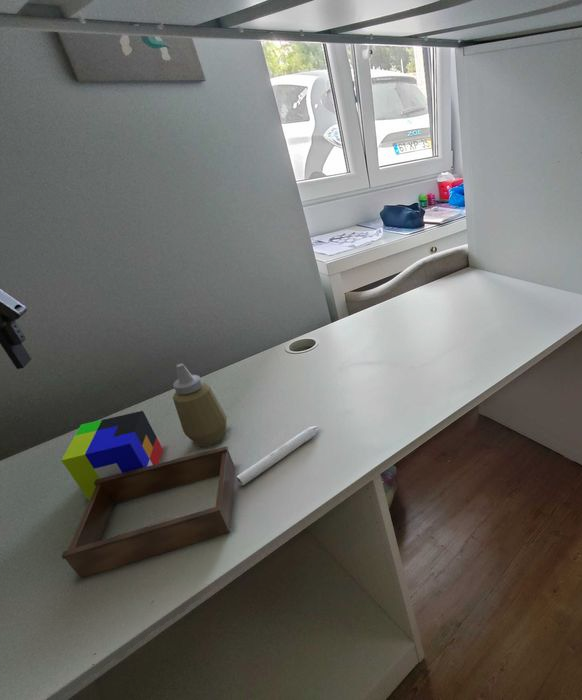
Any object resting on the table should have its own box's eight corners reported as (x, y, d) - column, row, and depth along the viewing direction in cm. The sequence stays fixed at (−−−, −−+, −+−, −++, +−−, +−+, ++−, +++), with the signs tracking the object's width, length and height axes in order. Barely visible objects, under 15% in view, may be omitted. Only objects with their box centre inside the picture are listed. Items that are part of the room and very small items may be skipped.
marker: (316, 428, 94) (314, 419, 93) (323, 432, 93) (320, 423, 92) (237, 483, 82) (234, 473, 80) (244, 487, 81) (240, 478, 79)
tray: (79, 579, 66) (61, 556, 64) (109, 501, 79) (95, 479, 76) (230, 532, 72) (219, 510, 70) (236, 467, 85) (227, 445, 82)
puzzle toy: (153, 483, 82) (130, 443, 77) (89, 501, 79) (61, 460, 74) (162, 449, 90) (142, 410, 85) (105, 463, 87) (81, 424, 82)
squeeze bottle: (180, 447, 91) (144, 374, 81) (208, 422, 97) (178, 352, 88) (213, 453, 89) (180, 379, 80) (240, 427, 95) (212, 356, 86)
